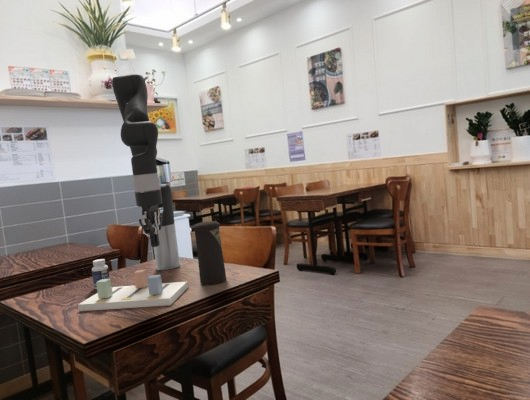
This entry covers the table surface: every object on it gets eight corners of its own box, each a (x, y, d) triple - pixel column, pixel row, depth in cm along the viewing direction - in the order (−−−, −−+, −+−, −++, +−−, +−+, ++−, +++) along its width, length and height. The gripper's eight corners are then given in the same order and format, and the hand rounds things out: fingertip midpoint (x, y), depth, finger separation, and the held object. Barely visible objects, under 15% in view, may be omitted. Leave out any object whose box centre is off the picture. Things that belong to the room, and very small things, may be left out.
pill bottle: (105, 289, 140) (100, 261, 139) (91, 290, 141) (87, 262, 140) (113, 284, 145) (109, 257, 144) (100, 285, 146) (96, 258, 145)
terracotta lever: (139, 285, 131) (137, 270, 131) (148, 284, 131) (146, 269, 130) (135, 288, 128) (133, 272, 128) (144, 287, 128) (142, 272, 127)
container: (229, 281, 132) (222, 220, 130) (202, 287, 129) (195, 225, 127) (222, 275, 140) (215, 218, 138) (197, 281, 137) (189, 222, 135)
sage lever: (103, 295, 124) (101, 279, 124) (112, 294, 124) (110, 278, 123) (98, 298, 121) (96, 282, 121) (107, 297, 121) (105, 281, 120)
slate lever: (153, 291, 122) (151, 275, 122) (162, 291, 122) (160, 274, 121) (149, 295, 119) (147, 278, 119) (159, 294, 119) (156, 277, 118)
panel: (106, 293, 134) (106, 287, 134) (188, 287, 131) (187, 281, 130) (79, 311, 119) (78, 304, 118) (170, 305, 115) (169, 297, 115)
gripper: (144, 188, 128) (152, 242, 130) (125, 192, 115) (134, 252, 117) (167, 186, 127) (174, 240, 129) (150, 190, 114) (159, 250, 116)
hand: (155, 246), depth 123 cm, fingers closed
